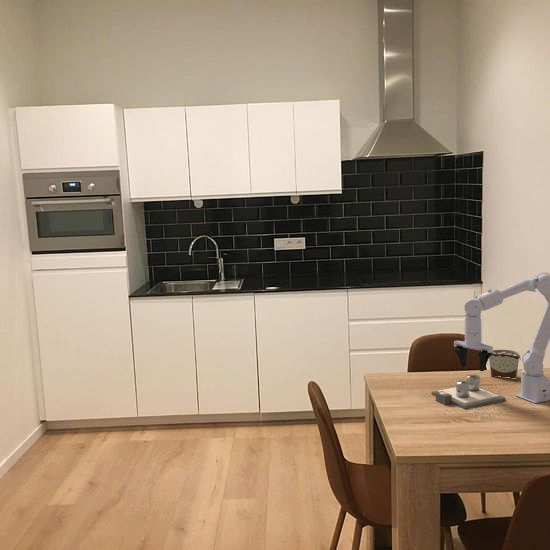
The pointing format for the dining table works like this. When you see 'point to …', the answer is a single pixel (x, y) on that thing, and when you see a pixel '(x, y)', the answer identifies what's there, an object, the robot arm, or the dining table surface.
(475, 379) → the steel spacer
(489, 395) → the kitchen scale
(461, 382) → the steel spacer
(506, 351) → the food container
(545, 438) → the dining table surface
